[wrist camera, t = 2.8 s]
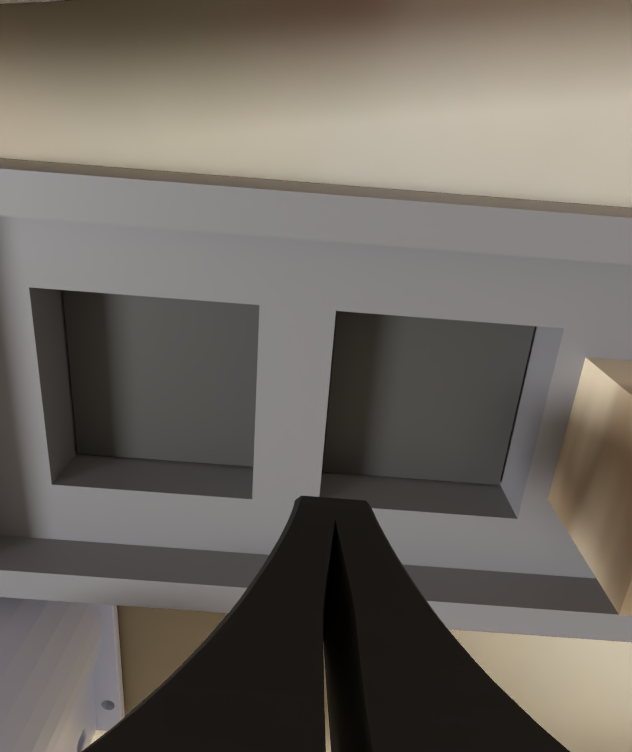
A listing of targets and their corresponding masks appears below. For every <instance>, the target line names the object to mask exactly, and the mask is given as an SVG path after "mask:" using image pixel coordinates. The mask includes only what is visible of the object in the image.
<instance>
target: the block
mask: <svg viewBox="0 0 632 752" xmlns="http://www.w3.org/2000/svg"><path fill="white" fill-rule="evenodd" d="M548 501H549V502H550V504H551V506H552V507H553V509H554V510H555V512H556V514H557V515H558V517H559V519H560V520H561V522H562V523H563V525H564V527H565V528H566V530H567V531H568V533H569V535H570V536H571V538H572V540H573V541H574V543H575V544H576V546H577V548H578V549H579V551H580V552H581V554H582V556H583V557H584V559H585V561H586V562H587V564H588V565H589V567H590V569H591V570H592V572H593V574H594V575H595V577H596V578H597V580H598V582H599V583H600V585H601V586H602V588H603V590H604V591H605V593H606V595H607V596H608V598H609V599H610V601H611V603H612V604H613V606H614V607H615V609H616V611H617V612H618V614H619V615H629V616H632V361H627V360H614V359H601V358H587V357H585V361H584V365H583V369H582V373H581V376H580V380H579V384H578V388H577V391H576V395H575V399H574V403H573V406H572V410H571V414H570V418H569V422H568V425H567V429H566V433H565V437H564V440H563V444H562V448H561V452H560V456H559V459H558V463H557V467H556V471H555V474H554V478H553V482H552V486H551V490H550V493H549V497H548Z"/></svg>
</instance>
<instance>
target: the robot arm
mask: <svg viewBox="0 0 632 752" xmlns="http://www.w3.org/2000/svg"><path fill="white" fill-rule="evenodd" d="M323 641H324V656H325V671H326V685H327V699H328V713H329V726H330V740H331V752H570V751H569V750H567V749H566V748H565V747H564V746H563V745H562V744H560V743H559V742H558V741H557V740H556V739H555V738H553V737H552V736H551V735H550V734H549V733H547V732H546V731H545V730H544V729H543V728H542V727H541V726H540V725H539V724H538V723H536V722H535V721H534V720H533V719H532V718H531V717H530V716H529V715H528V714H527V713H526V712H525V711H524V710H523V709H522V708H521V707H520V706H519V705H518V704H517V703H516V702H515V701H514V700H512V699H511V698H510V697H509V696H508V695H507V694H506V693H505V692H504V691H503V690H502V689H501V688H500V687H499V686H498V685H497V684H496V683H495V682H494V681H493V680H492V679H491V678H490V677H489V676H488V675H487V674H486V673H485V671H484V670H483V669H482V668H481V667H480V666H479V665H478V664H477V663H476V662H475V661H474V659H473V658H472V657H471V656H470V655H469V654H468V653H467V651H466V650H465V649H464V648H463V647H462V646H461V644H460V643H459V642H458V641H457V640H456V639H455V637H454V636H453V635H452V634H451V632H450V631H449V630H448V629H447V627H446V626H445V625H444V624H443V622H442V621H441V620H440V618H439V617H438V616H437V614H436V613H435V612H434V610H433V609H432V608H431V606H430V605H429V603H428V602H427V601H426V599H425V598H424V597H423V595H422V594H421V592H420V591H419V589H418V588H417V586H416V585H415V584H414V582H413V581H412V579H411V577H410V576H409V574H408V573H407V571H406V570H405V568H404V566H403V565H402V563H401V562H400V560H399V558H398V557H397V555H396V553H395V552H394V550H393V548H392V547H391V545H390V543H389V541H388V540H387V538H386V536H385V534H384V532H383V530H382V528H381V527H380V525H379V523H378V521H377V519H376V516H375V514H374V512H373V510H372V508H371V506H370V505H369V503H368V502H367V501H366V500H353V499H340V498H327V497H314V496H300V497H299V498H297V499H296V500H295V502H294V506H293V509H292V512H291V515H290V517H289V519H288V521H287V524H286V526H285V528H284V530H283V532H282V534H281V536H280V538H279V539H278V541H277V543H276V544H275V546H274V548H273V550H272V551H271V553H270V555H269V556H268V558H267V560H266V561H265V563H264V565H263V566H262V568H261V569H260V571H259V572H258V574H257V575H256V576H255V578H254V579H253V581H252V582H251V583H250V585H249V586H248V588H247V589H246V591H245V592H244V593H243V595H242V596H241V598H240V599H239V600H238V602H237V603H236V604H235V605H234V607H233V608H232V609H231V611H230V612H229V613H228V614H227V615H226V617H225V618H224V619H223V620H222V622H221V623H220V624H219V625H218V626H217V627H216V629H215V630H214V631H213V632H212V633H211V634H210V635H209V637H208V638H207V639H206V640H205V641H204V642H203V643H202V644H201V645H200V646H199V647H198V648H197V649H196V650H195V652H194V653H193V654H192V655H191V656H190V657H189V658H188V659H187V660H186V661H185V662H184V663H183V664H182V665H181V666H180V667H179V668H178V669H177V670H176V671H175V672H174V673H173V674H172V675H171V676H170V677H169V678H168V679H167V680H166V681H165V682H164V683H163V684H162V685H161V686H159V687H158V688H157V689H156V690H155V691H154V692H153V693H151V694H150V695H149V696H148V697H147V698H146V699H145V700H143V701H142V702H141V703H140V704H139V705H138V706H137V707H135V708H134V709H133V710H132V711H131V712H130V713H129V714H127V715H126V716H125V711H124V697H123V683H122V669H121V655H120V641H119V628H118V614H117V605H105V604H91V603H77V602H63V601H49V600H35V599H21V598H7V597H0V752H326V746H325V712H324V663H323ZM95 730H105V731H107V732H106V733H105V734H104V735H102V736H101V737H100V738H99V739H97V740H96V741H95V742H93V743H92V744H91V745H90V743H91V740H92V738H93V735H94V733H95Z"/></svg>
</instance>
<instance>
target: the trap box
mask: <svg viewBox="0 0 632 752" xmlns="http://www.w3.org/2000/svg"><path fill="white" fill-rule="evenodd" d="M336 311H337V315H336ZM335 316H336V326H335ZM334 327H335V338H334ZM333 339H334V349H333ZM332 350H333V360H332ZM585 357H587V358H601V359H614V360H627V361H632V208H626V207H613V206H600V205H588V204H575V203H562V202H549V201H537V200H524V199H511V198H499V197H486V196H473V195H460V194H448V193H435V192H422V191H409V190H397V189H384V188H371V187H359V186H346V185H333V184H320V183H308V182H295V181H282V180H269V179H257V178H244V177H231V176H219V175H206V174H193V173H180V172H168V171H155V170H142V169H129V168H117V167H104V166H91V165H79V164H66V163H53V162H40V161H28V160H15V159H2V158H0V597H7V598H21V599H35V600H49V601H63V602H77V603H91V604H105V605H119V606H133V607H147V608H161V609H175V610H189V611H203V612H217V613H229V612H230V611H231V609H232V608H233V607H234V605H235V604H236V603H237V602H238V600H239V599H240V598H241V596H242V595H243V593H244V592H245V591H246V589H247V588H248V586H249V585H250V583H251V582H252V581H253V579H254V578H255V576H256V575H257V574H258V572H259V571H260V569H261V568H262V566H263V565H264V563H265V561H266V560H267V558H268V556H269V555H270V553H271V551H272V550H273V548H274V546H275V544H276V543H277V541H278V539H279V538H280V536H281V534H282V532H283V530H284V528H285V526H286V524H287V521H288V519H289V517H290V515H291V512H292V509H293V506H294V502H295V500H296V499H297V498H299V497H300V496H314V497H327V498H340V499H353V500H366V501H367V502H368V503H369V505H370V506H371V508H372V510H373V512H374V514H375V516H376V519H377V521H378V523H379V525H380V527H381V528H382V530H383V532H384V534H385V536H386V538H387V540H388V541H389V543H390V545H391V547H392V548H393V550H394V552H395V553H396V555H397V557H398V558H399V560H400V562H401V563H402V565H403V566H404V568H405V570H406V571H407V573H408V574H409V576H410V577H411V579H412V581H413V582H414V584H415V585H416V586H417V588H418V589H419V591H420V592H421V594H422V595H423V597H424V598H425V599H426V601H427V602H428V603H429V605H430V606H431V608H432V609H433V610H434V612H435V613H436V614H437V616H438V617H439V618H440V620H441V621H442V622H443V624H444V625H445V626H446V627H447V629H454V630H468V631H482V632H496V633H510V634H524V635H538V636H552V637H566V638H580V639H594V640H608V641H622V642H632V616H629V615H619V614H618V612H617V611H616V609H615V607H614V606H613V604H612V603H611V601H610V599H609V598H608V596H607V595H606V593H605V591H604V590H603V588H602V586H601V585H600V583H599V582H598V580H597V578H596V577H595V575H594V574H593V572H592V570H591V569H590V567H589V565H588V564H587V562H586V561H585V559H584V557H583V556H582V554H581V552H580V551H579V549H578V548H577V546H576V544H575V543H574V541H573V540H572V538H571V536H570V535H569V533H568V531H567V530H566V528H565V527H564V525H563V523H562V522H561V520H560V519H559V517H558V515H557V514H556V512H555V510H554V509H553V507H552V506H551V504H550V502H549V501H548V497H549V493H550V490H551V486H552V482H553V478H554V474H555V471H556V467H557V463H558V459H559V456H560V452H561V448H562V444H563V440H564V437H565V433H566V429H567V425H568V422H569V418H570V414H571V410H572V406H573V403H574V399H575V395H576V391H577V388H578V384H579V380H580V376H581V373H582V369H583V365H584V361H585ZM331 361H332V371H331ZM330 372H331V382H330ZM329 384H330V393H329ZM328 395H329V404H328ZM327 406H328V416H327ZM326 417H327V427H326ZM325 428H326V438H325ZM324 440H325V449H324ZM323 451H324V460H323ZM322 462H323V470H322Z"/></svg>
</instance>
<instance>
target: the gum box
mask: <svg viewBox="0 0 632 752" xmlns="http://www.w3.org/2000/svg"><path fill="white" fill-rule="evenodd" d="M49 1H63V0H0V4H6V3H31V2H49Z"/></svg>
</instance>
